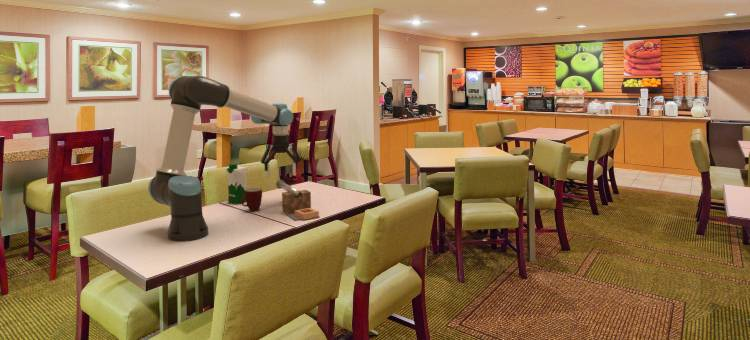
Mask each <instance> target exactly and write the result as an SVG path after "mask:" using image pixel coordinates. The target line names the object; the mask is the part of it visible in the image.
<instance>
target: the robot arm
mask: <svg viewBox="0 0 750 340" xmlns="http://www.w3.org/2000/svg"><path fill="white" fill-rule="evenodd" d="M168 95H169V97H170V99H171V100H170V107H171V108H172V110H173V111H172V115H171V120H170V125H169V130H168V134H167V140H166V144H165V149H164V155H163V160H162V163H161V166H160V167H159V168H158V169H156V171H155V176H154V177H153V178H151V179H150V181H149V183H148V187H147V191H148V193H149V197H150V198H151V199H152V200H153V201H155V202H157V203H159V204H160V205H165V206H168V207H170V218H171V219H170V222H169V225H168V229H167V238H168V240H171V241H175V240H176V242H178V241H179V242H180V241H181V242H183V241H186V240H188V241H194V240H198V239H202V238H205V237H206V236H207V235H209V227H208V225H207V222H206V220H205V217H204V215H203V214H204V213H203V201H202V185H201V180H200V179H199V178H198V177H196V176H193V175H187V173H186V172H185V167H186V160H187V157H188V151H189V147H190V141H191V137H192V132H193V127H194V122H195V117H196V115H197V114H198V113H200V112H201V107H202V106H212V107H218V108H219V109H221V108H228V109H231V110H234V111H237V112H240V113H243V114H245V115H249V116H250V120H251V122H252V123H253V124H257V125H262V124H263V125H265V124H266V125H272V134H273V135H272V144H266V149H265V152H264V153H263V155H262V158H261V160H260V164H262V165H264V171H265V172H266V177H267V178H270V177H271V175H270V174H271V170H270V164H269V163H270V161H271V160H273V158H274V157H275V156H276V155H277V154H285V153H286V154H287V155H288V157H289V158H290V159H291V160H292V161H293V162H292V176H297V171H296V170H297V169H298V163H299V162H301V161H302V159H301V157H300V155H299V153H298V151H297V149H296V147H295V143H289V135H288V134H289V125H290V124H292V123H293V121H294V113H293V112H292V111H291V109H289V108H288V104H287V103H272V104H270V103H268V102H265V101H262V100H260V99H258V98H255V97H251V96H249V95H248V94H247V95H246V94H244V93H241V92H238V91H235V90H232V89H230V87H229V86H228V85H227V84H224V83H221V82H219V81H217V80H214V79H211V78H209V77H206V76H202V75H184V76H179V77H176V78H174V79H173V80H172V81H171V83H170V84H169V87H168ZM289 148H290V149H291V151H292V153H293V154H292V153H291V152H290V150H288V149H289ZM271 149H273V150H272V152H271ZM270 152H271V153H270ZM269 154H270V155H269ZM268 155H269V156H268Z"/></svg>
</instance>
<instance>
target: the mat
mask: <svg viewBox="0 0 750 340" xmlns="http://www.w3.org/2000/svg"><path fill="white" fill-rule="evenodd" d="M286 216H287V217H289V218H290V219H291V220H293V221H295V222H297V221H303V219H301V218H298V217H296V216H295V213H292V214H287V215H286ZM319 218H321V216H320V215H319V217H314V218H309V219H308V220H310V219H319ZM304 220H306V219H304Z"/></svg>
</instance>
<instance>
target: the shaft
mask: <svg viewBox="0 0 750 340" xmlns="http://www.w3.org/2000/svg"><path fill="white" fill-rule="evenodd" d="M275 186H276V188H278V189H281V190H284V192H292V193H293V194H294V196H295V197H299V196H300V192H299V191H300V190H297V189H296V188H294V187H293V186H290V185H289V184H287V183H286V182H285V180H283V179H278V180H277V181H276V182H275Z"/></svg>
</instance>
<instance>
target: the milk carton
mask: <svg viewBox="0 0 750 340" xmlns="http://www.w3.org/2000/svg"><path fill="white" fill-rule="evenodd" d="M247 172H248V167H245V166H240V165H239V166H238V163H230V164H228V167H226V168H225V173H226V177H227V188H228V189H227V190H228V198H227V199H228V200H227V203H229V204H234V205H240V204H241V199H242V197H244V196H245V189H248V187H247V186H248V185H247ZM245 203H246V199H244V200H243V204H245ZM241 205H242V204H241Z"/></svg>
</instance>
